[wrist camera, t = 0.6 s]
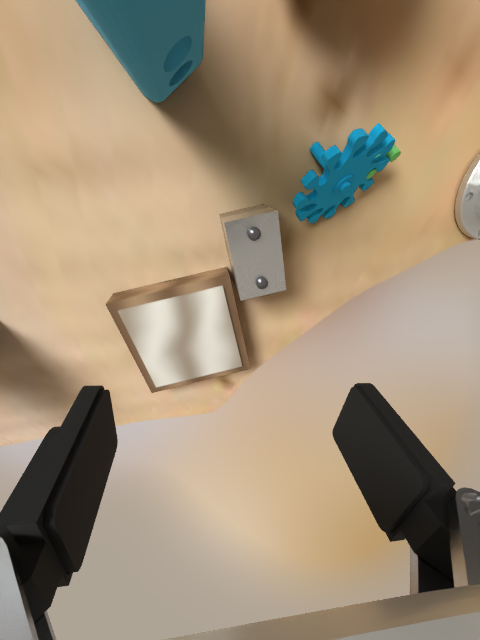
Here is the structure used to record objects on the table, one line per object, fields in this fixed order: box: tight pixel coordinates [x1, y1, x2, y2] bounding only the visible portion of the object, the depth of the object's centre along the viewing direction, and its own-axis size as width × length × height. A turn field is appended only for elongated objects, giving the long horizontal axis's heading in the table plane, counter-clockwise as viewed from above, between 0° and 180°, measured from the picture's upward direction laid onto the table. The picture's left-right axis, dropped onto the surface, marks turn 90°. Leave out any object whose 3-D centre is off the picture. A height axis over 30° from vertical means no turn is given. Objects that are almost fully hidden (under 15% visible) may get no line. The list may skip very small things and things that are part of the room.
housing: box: [219, 204, 286, 301], centre depth 28 cm, size 5×8×6 cm, turn 11°
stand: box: [106, 267, 250, 393], centre depth 33 cm, size 14×14×3 cm
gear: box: [293, 123, 401, 223], centre depth 25 cm, size 11×6×10 cm
